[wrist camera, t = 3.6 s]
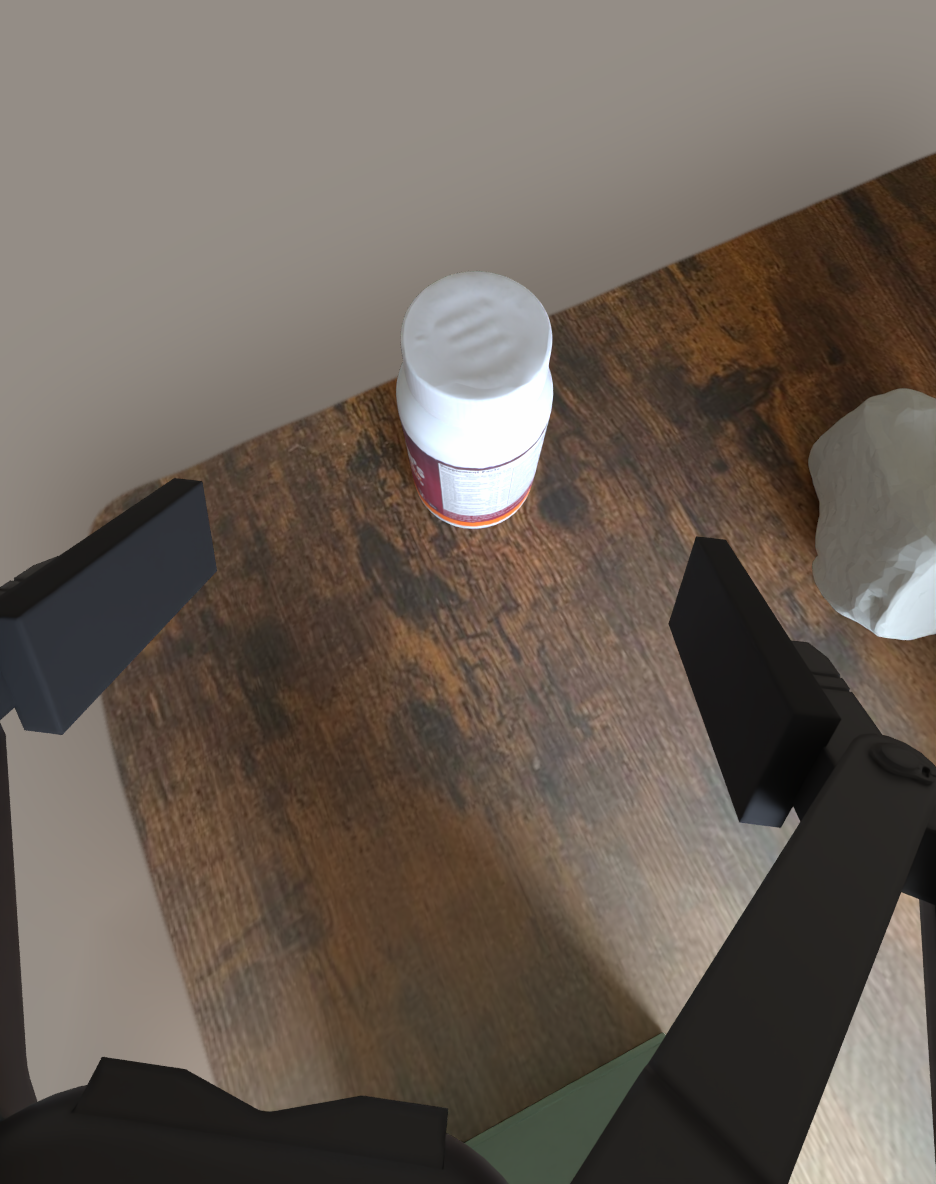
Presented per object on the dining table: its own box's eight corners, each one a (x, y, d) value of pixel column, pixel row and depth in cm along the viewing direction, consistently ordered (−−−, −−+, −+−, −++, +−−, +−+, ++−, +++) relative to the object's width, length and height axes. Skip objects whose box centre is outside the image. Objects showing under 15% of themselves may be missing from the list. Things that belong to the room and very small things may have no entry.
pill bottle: (408, 430, 31) (374, 265, 20) (523, 416, 31) (551, 245, 20) (421, 539, 30) (391, 426, 19) (541, 525, 30) (582, 403, 19)
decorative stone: (1069, 626, 27) (1134, 620, 19) (836, 646, 32) (811, 648, 24) (1016, 403, 28) (1057, 310, 20) (803, 457, 34) (770, 401, 26)
